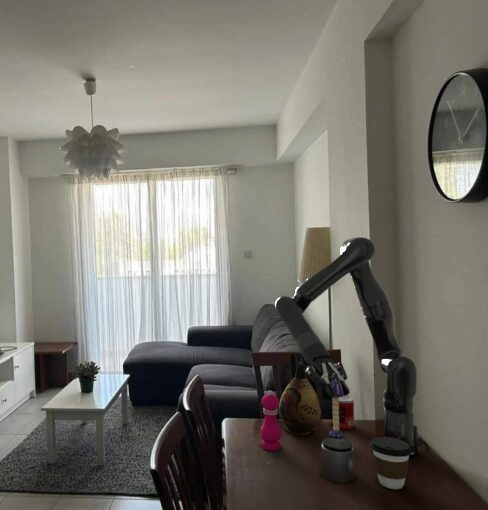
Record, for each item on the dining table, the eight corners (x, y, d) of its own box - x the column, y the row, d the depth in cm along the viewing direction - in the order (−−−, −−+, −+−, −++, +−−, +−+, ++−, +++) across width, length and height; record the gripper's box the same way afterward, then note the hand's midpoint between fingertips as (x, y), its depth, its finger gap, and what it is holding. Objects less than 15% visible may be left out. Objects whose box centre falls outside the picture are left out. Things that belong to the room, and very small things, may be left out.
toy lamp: (325, 433, 144) (324, 380, 144) (339, 432, 145) (339, 379, 144) (332, 439, 139) (332, 384, 139) (347, 439, 140) (347, 383, 140)
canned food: (353, 423, 184) (352, 396, 184) (355, 430, 177) (354, 402, 177) (332, 421, 187) (332, 394, 187) (333, 428, 179) (333, 400, 179)
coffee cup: (411, 497, 129) (410, 454, 129) (368, 487, 135) (367, 446, 135) (413, 480, 138) (412, 440, 138) (372, 472, 144) (372, 433, 144)
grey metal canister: (348, 469, 146) (347, 437, 146) (357, 483, 137) (357, 449, 137) (318, 468, 147) (318, 437, 147) (326, 482, 138) (325, 448, 138)
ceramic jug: (330, 435, 173) (328, 355, 173) (293, 440, 169) (291, 358, 169) (304, 420, 189) (302, 346, 189) (269, 424, 185) (268, 349, 185)
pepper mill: (279, 443, 167) (278, 387, 167) (283, 451, 160) (282, 393, 160) (259, 442, 168) (258, 387, 168) (262, 451, 160) (261, 393, 160)
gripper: (300, 343, 146) (329, 392, 135) (334, 339, 152) (365, 386, 141) (288, 357, 151) (316, 405, 140) (322, 352, 156) (351, 398, 145)
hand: (340, 395), depth 140 cm, fingers closed on toy lamp, 4 cm apart
